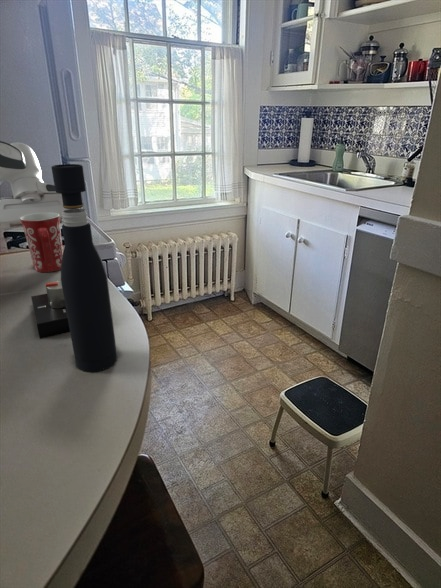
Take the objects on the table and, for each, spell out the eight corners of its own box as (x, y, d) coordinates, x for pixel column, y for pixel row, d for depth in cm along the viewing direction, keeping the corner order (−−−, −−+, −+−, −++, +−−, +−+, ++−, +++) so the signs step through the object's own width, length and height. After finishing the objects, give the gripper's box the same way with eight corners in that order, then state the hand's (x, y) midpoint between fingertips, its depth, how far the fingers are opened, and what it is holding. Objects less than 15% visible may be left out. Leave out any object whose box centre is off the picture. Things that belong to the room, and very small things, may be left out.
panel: (97, 326, 73) (95, 311, 72) (39, 339, 69) (36, 323, 68) (84, 299, 84) (82, 286, 82) (33, 309, 79) (30, 295, 78)
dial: (74, 297, 77) (71, 277, 76) (72, 307, 74) (69, 286, 72) (51, 299, 76) (47, 279, 75) (48, 309, 73) (43, 288, 71)
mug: (30, 264, 104) (20, 213, 98) (66, 260, 107) (58, 210, 101) (30, 281, 93) (18, 225, 87) (70, 275, 96) (61, 221, 91)
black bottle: (101, 376, 59) (70, 169, 47) (66, 367, 61) (28, 167, 49) (125, 354, 65) (103, 164, 52) (92, 347, 67) (64, 162, 54)
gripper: (-14, 191, 104) (-5, 236, 101) (67, 185, 113) (77, 226, 109) (-10, 205, 110) (-1, 247, 106) (67, 198, 119) (77, 238, 115)
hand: (39, 237), depth 108 cm, fingers closed
